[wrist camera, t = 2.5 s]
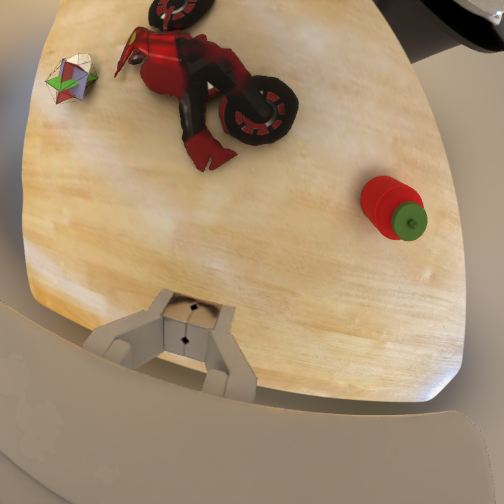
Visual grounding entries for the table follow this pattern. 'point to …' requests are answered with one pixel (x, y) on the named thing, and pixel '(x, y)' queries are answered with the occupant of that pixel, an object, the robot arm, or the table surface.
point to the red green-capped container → (394, 208)
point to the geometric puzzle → (72, 77)
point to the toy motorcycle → (207, 83)
